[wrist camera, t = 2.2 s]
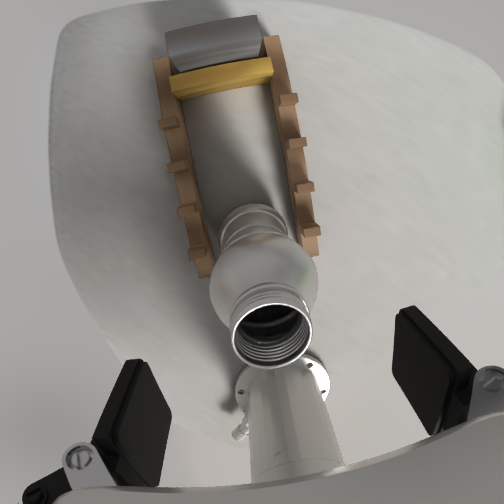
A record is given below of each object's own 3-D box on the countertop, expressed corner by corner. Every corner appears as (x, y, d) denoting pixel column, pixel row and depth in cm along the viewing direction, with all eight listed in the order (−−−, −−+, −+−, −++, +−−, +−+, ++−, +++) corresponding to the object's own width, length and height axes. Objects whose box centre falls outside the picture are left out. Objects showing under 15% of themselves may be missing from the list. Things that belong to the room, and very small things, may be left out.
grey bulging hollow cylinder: (207, 225, 32) (164, 327, 13) (260, 186, 31) (295, 235, 12) (244, 272, 34) (252, 410, 15) (296, 235, 33) (367, 342, 14)
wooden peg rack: (312, 246, 33) (336, 278, 25) (202, 267, 33) (190, 306, 25) (275, 45, 27) (288, 8, 18) (160, 67, 27) (133, 39, 18)
